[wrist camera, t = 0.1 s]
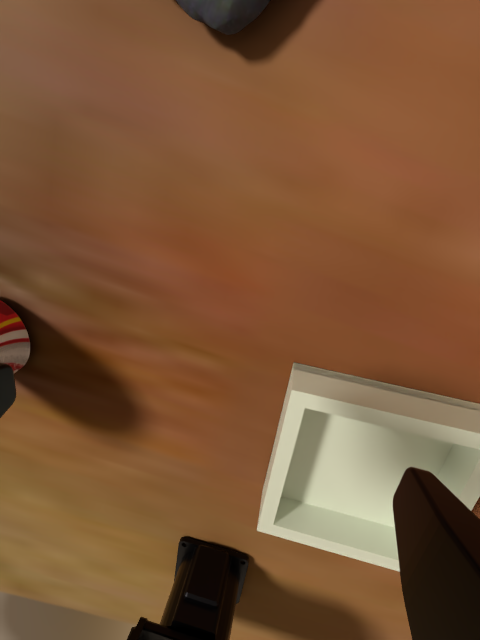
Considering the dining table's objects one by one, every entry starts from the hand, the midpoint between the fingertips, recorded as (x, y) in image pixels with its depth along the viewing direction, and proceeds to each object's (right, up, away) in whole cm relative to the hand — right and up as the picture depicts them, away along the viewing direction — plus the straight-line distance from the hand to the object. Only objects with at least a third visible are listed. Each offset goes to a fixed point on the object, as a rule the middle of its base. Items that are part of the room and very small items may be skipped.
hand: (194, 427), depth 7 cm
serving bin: (+10, -7, +17) cm, 20 cm away
